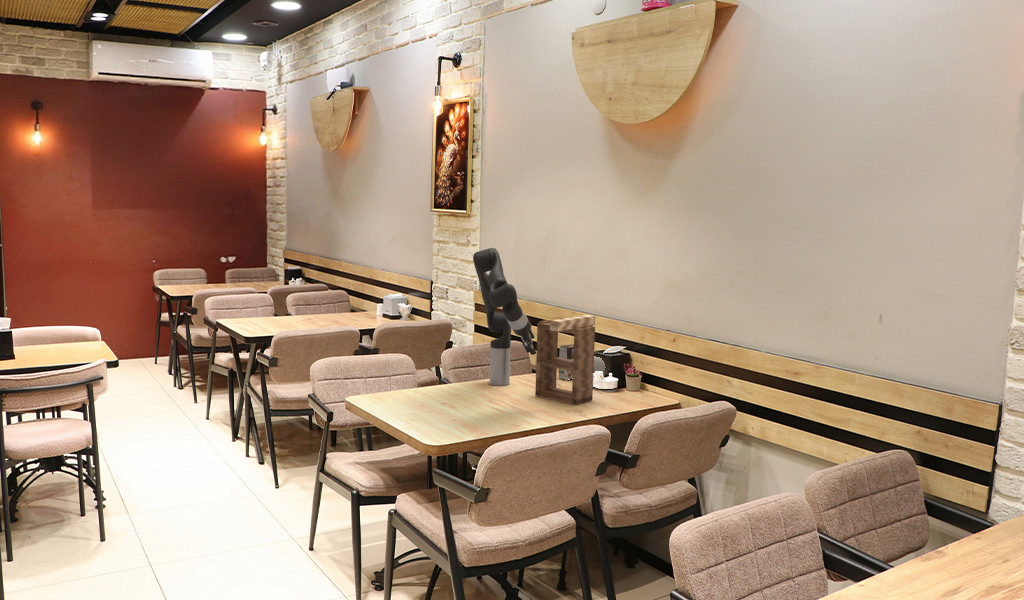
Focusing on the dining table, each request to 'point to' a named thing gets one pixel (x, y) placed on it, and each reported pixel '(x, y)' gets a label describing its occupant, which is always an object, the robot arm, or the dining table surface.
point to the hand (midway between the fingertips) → (533, 345)
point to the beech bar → (571, 322)
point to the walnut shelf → (565, 364)
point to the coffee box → (566, 353)
